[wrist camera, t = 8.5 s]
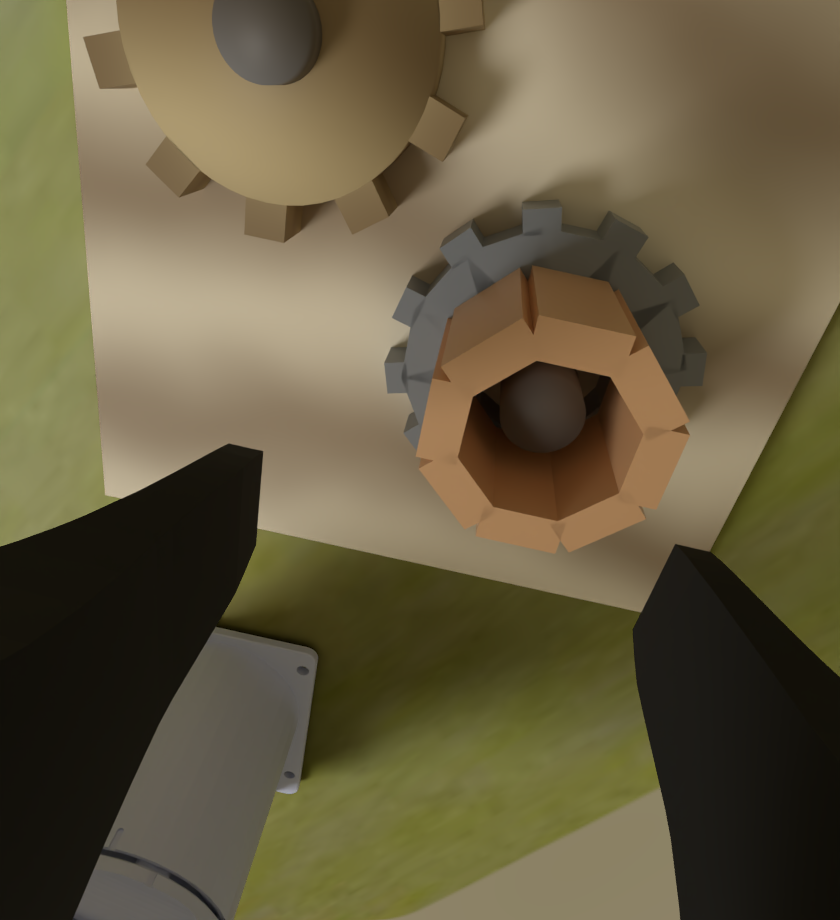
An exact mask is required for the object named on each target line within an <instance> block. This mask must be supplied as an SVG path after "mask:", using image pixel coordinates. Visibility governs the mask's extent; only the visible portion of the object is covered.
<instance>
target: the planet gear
mask: <svg viewBox="0 0 840 920" xmlns="http://www.w3.org/2000/svg"><path fill="white" fill-rule="evenodd" d="M647 239H648V236H647V235H646V234H645V233H644V232H643V230H642V229H641V228H640V227H638V226H636V225H634V224H633V223H631V222H629V221H627V220H625V219H623V218H622V217H620V216H618V215H616V214H614V213H613V212H611V211H608V213H607V214H606V216H605V218H604V219H603V221H602V223H601V224H600V226H599V228H598V229H597V231H595V230H591V229H586V228H581V227H577V226H572V225H568V224H563V223H562V206H561V204H560V202H559V199H558V200H543V201H527V202H522V225H519V226H516V227H513V228H510V229H507V230H504V231H501V232H498V233H495V234H492V235H489V236H486V237H484V236H483V234H482V233H481V231H480V229H479V228H478V226H477V224H476V223H475V221H474V219H472V220H470V221H469V222H467V223H466V224H464V225H463V226H461V227H460V228H459V229H457V230H456V231H454V232H453V233H451V234H450V235H448V236H447V237H445V238H444V239H443V241H442V244H441V246H440V250H441V252H442V253H443V255H444V256H445V258H446V259H447V261H448V263H449V264H448V265H447V266H446V267H445V268H444V269H443V271H442V272H441V273H440V274H439V275H438V276H437V277H436V279H435V280H434V281H433V282H432V283H431V284H428V283H426V282H424V281H422V280H420V279H419V278H417V277H415V276H413V275H412V277H411V279H410V281H409V283H408V285H407V287H406V289H405V291H404V293H403V295H402V297H401V299H400V301H399V303H398V306H397V308H396V310H395V312H394V314H393V316H392V318H393V319H395V320H397V321H399V322H401V323H403V324H405V325H407V326H409V327H410V333H409V338H408V343H407V347H391V348H390V351H389V353H388V355H387V358H386V360H385V362H384V366H385V376H386V385H387V394H389V393H407V395H408V397H409V400H410V402H411V405H412V408H413V410H414V412H413V413H411V414H409V416H408V419H407V422H406V426H405V429H404V432H403V433H404V435H405V436H406V437H407V439H408V440H409V441H410V443H411V444H412V445H413V447H414V448H415V449H416V451H417V452H416V457H420V458H421V460H420V465H419V470H420V471H421V473H422V474H423V475H424V477H425V478H426V479H427V481H428V482H429V483H430V485H431V486H432V487H433V488H434V490H435V491H436V492H437V494H438V495H439V496H440V498H441V499H442V500H443V502H444V503H445V504H446V506H447V507H448V508H449V510H450V511H451V512H452V514H453V515H454V516H455V518H456V519H457V520H458V522H459V523H460V524H461V526H462V527H463V528H464V529H467V528H469V527H471V526H473V525H475V524H476V536H477V537H481V538H486V539H490V540H495V541H499V542H504V543H508V544H513V545H517V546H522V547H526V548H531V549H535V550H540V551H544V552H549V553H553V554H555V553H556V550H557V548H558V545H559V542H560V541H561V542H562V544H563V545H564V546H565V548H566V549H567V551H568V552H571V551H574V550H576V549H578V548H581V547H583V546H585V545H588V544H590V543H592V542H595V541H597V540H599V539H601V538H604V537H606V536H608V535H611V534H613V533H615V532H618V531H620V530H622V529H624V528H627V527H629V526H631V525H634V524H636V523H638V522H641V521H643V520H645V519H646V517H645V514H644V510H643V507H646V508H650V509H655V510H656V509H657V507H658V505H659V503H660V500H661V498H662V496H663V494H664V492H665V489H666V487H667V485H668V483H669V481H670V478H671V476H672V474H673V472H674V470H675V467H676V465H677V463H678V461H679V459H680V456H681V454H682V452H683V450H684V448H685V445H686V443H687V441H688V439H689V437H690V434H689V432H688V430H687V428H686V426H685V424H686V423H688V422H690V421H689V419H688V417H687V415H686V413H685V411H684V410H683V408H682V406H681V404H680V402H679V400H678V398H677V397H676V396H677V394H678V391H679V389H680V387H685V386H703V379H704V372H705V365H706V358H707V352H706V351H705V349H704V348H703V347H702V345H701V344H700V343H699V341H698V340H697V339H696V337H689V338H682V335H681V329H680V323H679V318H678V317H680V316H681V315H683V314H685V313H687V312H689V311H691V310H693V309H694V308H696V307H698V306H700V305H699V303H698V301H697V299H696V297H695V295H694V293H693V291H692V289H691V287H690V285H689V282H688V280H687V278H686V276H685V274H684V273H683V272H682V271H681V270H680V269H679V268H678V267H677V266H676V265H675V264H674V262H673V263H672V264H670V265H668V266H666V267H665V268H663V269H661V270H660V271H658V272H656V273H654V274H653V273H652V272H651V271H650V270H649V269H648V268H647V267H646V266H645V265H644V264H643V263H642V262H641V261H640V260H639V259H638V258H637V257H636V256H637V254H638V253H639V251H640V250H641V248H642V247H643V245H644V244H645V242H646V241H647ZM535 361H540V362H545V363H550V364H554V365H559V366H563V367H568V368H572V369H577V370H581V371H586V372H590V373H595V374H600V376H599V379H598V382H597V385H596V387H595V388H594V389H593V390H592V391H591V392H589V393H588V394H587V395H586V396H585V397H584V398H583V399H584V403H585V408H586V419H585V423H584V426H583V428H582V430H581V432H580V434H579V435H578V436H577V437H576V439H574V440H573V441H572V442H571V443H570V444H568V445H567V446H565V447H564V448H561V449H559V450H556V451H553V452H548V453H535V452H530V451H526V450H524V449H521V448H520V447H518V446H516V445H515V444H513V443H512V442H511V441H510V440H509V439H508V438H507V436H506V435H505V433H504V432H503V429H502V427H501V423H500V406H499V405H498V404H497V403H496V402H495V401H494V400H493V399H491V398H490V397H489V396H488V395H487V394H486V393H484V392H483V391H484V390H486V389H487V388H489V387H491V386H493V385H494V384H496V383H498V382H500V381H502V380H503V379H505V378H507V377H509V376H510V375H512V374H514V373H516V372H518V371H519V370H521V369H523V368H525V367H526V366H528V365H530V364H532V363H534V362H535Z"/></svg>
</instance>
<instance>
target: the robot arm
mask: <svg viewBox="0 0 840 920" xmlns="http://www.w3.org/2000/svg"><path fill="white" fill-rule="evenodd" d="M262 463H263V451H261V450H256V449H252V448H247V447H243V446H239V445H234V444H230V443H229V444H226V445H224V446H222V447H220V448H218V449H216V450H214V451H213V452H211V453H209V454H207V455H205V456H203V457H202V458H200V459H198V460H196V461H194V462H192V463H191V464H189V465H187V466H185V467H183V468H181V469H179V470H178V471H176V472H174V473H172V474H170V475H168V476H166V477H164V478H162V479H160V480H158V481H157V482H155V483H153V484H151V485H149V486H147V487H145V488H143V489H141V490H139V491H137V492H135V493H133V494H131V495H128V496H126V497H124V498H122V499H120V500H118V501H115V502H113V503H111V504H109V505H107V506H105V507H102V508H100V509H98V510H96V511H94V512H92V513H89V514H87V515H85V516H83V517H80V518H78V519H75V520H73V521H70V522H68V523H65V524H63V525H60V526H58V527H55V528H53V529H50V530H47V531H44V532H42V533H39V534H36V535H33V536H30V537H28V538H25V539H22V540H19V541H16V542H13V543H10V544H7V545H4V546H1V547H0V920H234V917H235V913H236V910H237V907H238V904H239V901H240V898H241V895H242V892H243V889H244V886H245V883H246V880H247V877H248V874H249V871H250V868H251V865H252V862H253V859H254V856H255V853H256V850H257V846H258V843H259V840H260V837H261V834H262V831H263V828H264V825H265V822H266V819H267V816H268V813H269V810H270V807H271V804H272V801H273V798H274V795H275V792H276V791H278V792H282V793H287V794H293V793H295V792H297V791H298V788H299V785H300V780H301V773H302V766H303V760H304V753H305V746H306V739H307V732H308V725H309V718H310V711H311V705H312V698H313V691H314V684H315V677H316V670H317V663H318V655H317V653H316V652H315V651H314V650H313V649H311V648H309V647H305V646H300V645H296V644H291V643H287V642H282V641H278V640H273V639H269V638H264V637H259V636H255V635H250V634H246V633H241V632H237V631H232V630H228V629H223V628H219V627H216V625H217V624H218V622H219V620H220V619H221V617H222V615H223V614H224V612H225V610H226V608H227V607H228V605H229V603H230V602H231V600H232V598H233V596H234V595H235V593H236V591H237V588H238V586H239V584H240V581H241V579H242V577H243V575H244V572H245V570H246V568H247V565H248V563H249V560H250V558H251V556H252V553H253V551H254V548H255V546H256V538H257V525H258V513H259V500H260V488H261V475H262ZM633 642H634V658H635V668H636V679H637V686H638V691H639V696H640V700H641V705H642V709H643V714H644V719H645V723H646V728H647V732H648V736H649V741H650V745H651V749H652V754H653V758H654V762H655V767H656V771H657V775H658V780H659V784H660V788H661V792H662V797H663V801H664V805H665V810H666V815H667V821H668V826H669V831H670V836H671V843H672V852H673V859H674V868H675V876H676V884H677V892H678V900H679V908H680V919H681V920H840V677H839V676H838V675H837V674H836V673H835V672H833V671H832V670H831V669H830V668H829V667H828V666H827V665H826V664H825V663H824V662H823V661H822V660H821V659H819V658H818V657H817V656H816V655H815V654H814V653H813V652H812V651H811V650H810V649H809V648H808V647H807V646H806V645H805V644H804V643H803V642H802V641H801V640H800V639H799V638H798V637H797V636H796V635H795V634H794V633H793V632H792V631H791V630H790V629H789V628H788V627H787V626H786V625H785V624H784V623H783V622H782V621H781V620H780V619H779V618H778V617H777V616H776V615H775V614H774V613H773V612H772V611H771V610H770V609H769V608H768V607H767V606H766V605H765V604H764V603H763V602H762V601H761V600H760V599H759V598H758V597H757V596H756V595H755V594H754V593H753V592H752V591H751V590H750V589H749V588H748V587H747V586H746V585H745V584H744V583H743V582H742V581H741V580H740V579H739V578H738V577H737V576H736V575H735V574H734V573H733V572H732V571H731V570H730V569H729V568H728V567H727V566H726V565H725V564H724V563H723V562H722V561H720V560H719V559H718V558H717V557H716V556H715V555H714V554H712V553H711V552H709V551H705V550H700V549H696V548H691V547H687V546H682V545H678V544H675V545H674V547H673V549H672V551H671V553H670V555H669V557H668V559H667V561H666V563H665V565H664V567H663V570H662V572H661V574H660V576H659V578H658V580H657V582H656V584H655V586H654V588H653V590H652V592H651V594H650V596H649V598H648V600H647V602H646V604H645V606H644V608H643V610H642V612H641V614H640V616H639V618H638V620H637V622H636V624H635V626H634V628H633ZM302 666H304V667H306V668H304V667H302Z"/></svg>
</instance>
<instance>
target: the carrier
mask: <svg viewBox="0 0 840 920" xmlns="http://www.w3.org/2000/svg"><path fill="white" fill-rule="evenodd" d="M66 2H67V15H68V27H69V40H70V53H71V66H72V78H73V91H74V104H75V116H76V129H77V142H78V154H79V167H80V180H81V192H82V205H83V218H84V230H85V243H86V256H87V269H88V281H89V294H90V307H91V319H92V332H93V345H94V357H95V370H96V383H97V395H98V408H99V421H100V434H101V446H102V459H103V472H104V484H105V495H108V496H113V497H117V498H124V497H126V496H128V495H131V494H133V493H135V492H137V491H139V490H141V489H143V488H145V487H147V486H149V485H151V484H153V483H155V482H157V481H158V480H160V479H162V478H164V477H166V476H168V475H170V474H172V473H174V472H176V471H178V470H179V469H181V468H183V467H185V466H187V465H189V464H191V463H192V462H194V461H196V460H198V459H200V458H202V457H203V456H205V455H207V454H209V453H211V452H213V451H214V450H216V449H218V448H220V447H222V446H224V445H226V444H229V443H230V444H234V445H239V446H243V447H247V448H252V449H256V450H261V451H263V463H262V475H261V488H260V500H259V513H258V525H257V528H258V529H263V530H268V531H272V532H277V533H281V534H286V535H290V536H295V537H299V538H304V539H309V540H313V541H318V542H322V543H327V544H331V545H336V546H341V547H345V548H350V549H354V550H359V551H363V552H368V553H372V554H377V555H382V556H386V557H391V558H395V559H400V560H404V561H409V562H413V563H418V564H423V565H427V566H432V567H436V568H441V569H445V570H450V571H454V572H459V573H464V574H468V575H473V576H477V577H482V578H486V579H491V580H496V581H500V582H505V583H509V584H514V585H518V586H523V587H527V588H532V589H537V590H541V591H546V592H550V593H555V594H559V595H564V596H568V597H573V598H578V599H582V600H587V601H591V602H596V603H600V604H605V605H609V606H614V607H619V608H623V609H628V610H632V611H637V612H642V610H643V608H644V606H645V604H646V602H647V600H648V598H649V596H650V594H651V592H652V590H653V588H654V586H655V584H656V582H657V580H658V578H659V576H660V574H661V572H662V570H663V567H664V565H665V563H666V561H667V559H668V557H669V555H670V553H671V551H672V549H673V547H674V545H675V544H678V545H682V546H687V547H691V548H696V549H700V550H705V551H709V552H710V550H711V548H712V546H713V544H714V542H715V540H716V538H717V536H718V534H719V533H720V531H721V529H722V527H723V525H724V523H725V521H726V519H727V517H728V515H729V513H730V511H731V510H732V508H733V506H734V504H735V502H736V500H737V498H738V496H739V494H740V492H741V490H742V488H743V487H744V485H745V483H746V481H747V479H748V477H749V475H750V473H751V471H752V469H753V467H754V465H755V464H756V462H757V460H758V458H759V456H760V454H761V452H762V450H763V448H764V446H765V444H766V442H767V441H768V439H769V437H770V435H771V433H772V431H773V429H774V427H775V425H776V423H777V421H778V420H779V418H780V416H781V414H782V412H783V410H784V408H785V406H786V404H787V402H788V400H789V398H790V397H791V395H792V393H793V391H794V389H795V387H796V385H797V383H798V381H799V379H800V377H801V375H802V374H803V372H804V370H805V368H806V366H807V364H808V362H809V360H810V358H811V356H812V354H813V352H814V351H815V349H816V347H817V345H818V343H819V341H820V339H821V337H822V335H823V333H824V331H825V329H826V328H827V326H828V324H829V322H830V320H831V318H832V316H833V314H834V312H835V310H836V308H837V306H838V305H839V303H840V0H66ZM558 199H559V202H560V204H561V206H562V223H563V224H568V225H572V226H577V227H581V228H586V229H591V230H595V231H597V229H598V228H599V226H600V224H601V223H602V221H603V219H604V218H605V216H606V214H607V213H608V211H611V212H613V213H614V214H616V215H618V216H620V217H622V218H623V219H625V220H627V221H629V222H631V223H633V224H634V225H636V226H638V227H640V228H641V229H642V230H643V232H644V233H645V234H646V235H647V236H648V239H647V241H646V242H645V244H644V245H643V247H642V248H641V250H640V251H639V253H638V254H637V256H636V257H637V258H638V259H639V260H640V261H641V262H642V263H643V264H644V265H645V266H646V267H647V268H648V269H649V270H650V271H651V272H652V273H653V274H654V273H656V272H658V271H660V270H661V269H663V268H665V267H666V266H668V265H670V264H672V263H673V262H674V264H675V265H676V266H677V267H678V268H679V269H680V270H681V271H682V272H683V273H684V274H685V276H686V278H687V280H688V282H689V285H690V287H691V289H692V291H693V293H694V295H695V297H696V299H697V301H698V303H699V305H700V306H698V307H696V308H694V309H693V310H691V311H689V312H687V313H685V314H683V315H681V316H680V317H678V318H679V323H680V329H681V335H682V338H689V337H696V339H697V340H698V341H699V343H700V344H701V345H702V347H703V348H704V349H705V351H706V352H707V358H706V365H705V372H704V379H703V386H685V387H680V389H679V391H678V394H677V396H676V397H677V398H678V400H679V402H680V404H681V406H682V408H683V410H684V411H685V413H686V415H687V417H688V419H689V421H690V422H688V423H686V424H685V426H686V428H687V430H688V432H689V434H690V437H689V439H688V441H687V443H686V445H685V448H684V450H683V452H682V454H681V456H680V459H679V461H678V463H677V465H676V467H675V470H674V472H673V474H672V476H671V478H670V481H669V483H668V485H667V487H666V489H665V492H664V494H663V496H662V498H661V500H660V503H659V505H658V507H657V509H656V510H655V509H650V508H646V507H643V510H644V514H645V517H646V519H645V520H643V521H641V522H638V523H636V524H634V525H631V526H629V527H627V528H624V529H622V530H620V531H618V532H615V533H613V534H611V535H608V536H606V537H604V538H601V539H599V540H597V541H595V542H592V543H590V544H588V545H585V546H583V547H581V548H578V549H576V550H574V551H571V552H568V551H567V549H566V548H565V546H564V545H563V544H562V542H561V541H560V542H559V545H558V548H557V550H556V553H555V554H553V553H549V552H544V551H540V550H535V549H531V548H526V547H522V546H517V545H513V544H508V543H504V542H499V541H495V540H490V539H486V538H481V537H477V536H476V524H475V525H473V526H471V527H469V528H467V529H464V528H463V527H462V526H461V524H460V523H459V522H458V520H457V519H456V518H455V516H454V515H453V514H452V512H451V511H450V510H449V508H448V507H447V506H446V504H445V503H444V502H443V500H442V499H441V498H440V496H439V495H438V494H437V492H436V491H435V490H434V488H433V487H432V486H431V485H430V483H429V482H428V481H427V479H426V478H425V477H424V475H423V474H422V473H421V471H420V470H419V465H420V460H421V458H420V457H416V452H417V451H416V449H415V448H414V447H413V445H412V444H411V443H410V441H409V440H408V439H407V437H406V436H405V435H404V433H403V432H404V429H405V426H406V422H407V419H408V416H409V414H411V413H413V412H414V410H413V408H412V405H411V402H410V400H409V397H408V395H407V393H389V394H387V385H386V376H385V366H384V362H385V360H386V358H387V355H388V353H389V351H390V348H391V347H407V343H408V338H409V333H410V327H409V326H407V325H405V324H403V323H401V322H399V321H397V320H395V319H393V318H392V316H393V314H394V312H395V310H396V308H397V306H398V303H399V301H400V299H401V297H402V295H403V293H404V291H405V289H406V287H407V285H408V283H409V281H410V279H411V277H412V275H413V276H415V277H417V278H419V279H420V280H422V281H424V282H426V283H428V284H431V283H432V282H433V281H434V280H435V279H436V277H437V276H438V275H439V274H440V273H441V272H442V271H443V269H444V268H445V267H446V266H447V265H448V264H449V263H448V261H447V259H446V258H445V256H444V255H443V253H442V252H441V250H440V246H441V244H442V241H443V239H444V238H445V237H447V236H448V235H450V234H451V233H453V232H454V231H456V230H457V229H459V228H460V227H461V226H463V225H464V224H466V223H467V222H469V221H470V220H472V219H474V221H475V223H476V224H477V226H478V228H479V229H480V231H481V233H482V234H483V236H484V237H486V236H489V235H492V234H495V233H498V232H501V231H504V230H507V229H510V228H513V227H516V226H519V225H522V202H527V201H543V200H558ZM599 376H600V374H595V373H590V372H586V371H581V370H577V369H572V368H568V367H563V366H559V365H554V364H550V363H545V362H540V361H535V362H534V363H532V364H530V365H528V366H526V367H525V368H523V369H521V370H519V371H518V372H516V373H514V374H512V375H510V376H509V377H507V378H505V379H503V380H502V381H500V382H498V383H496V384H494V385H493V386H491V387H489V388H487V389H486V390H484V391H483V392H484V393H486V394H487V395H488V396H489V397H490V398H491V399H493V400H494V401H495V402H496V403H497V404H498V405H499V406H500V423H501V427H502V429H503V432H504V433H505V435H506V436H507V438H508V439H509V440H510V441H511V442H512V443H513V444H515V445H516V446H518V447H520V448H521V449H524V450H526V451H530V452H535V453H548V452H553V451H556V450H559V449H561V448H564V447H565V446H567V445H568V444H570V443H571V442H572V441H573V440H574V439H576V437H577V436H578V435H579V434H580V432H581V430H582V428H583V426H584V423H585V419H586V408H585V403H584V399H583V398H584V397H585V396H586V395H587V394H588V393H589V392H591V391H592V390H593V389H594V388H595V387H596V385H597V382H598V379H599Z"/></svg>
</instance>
